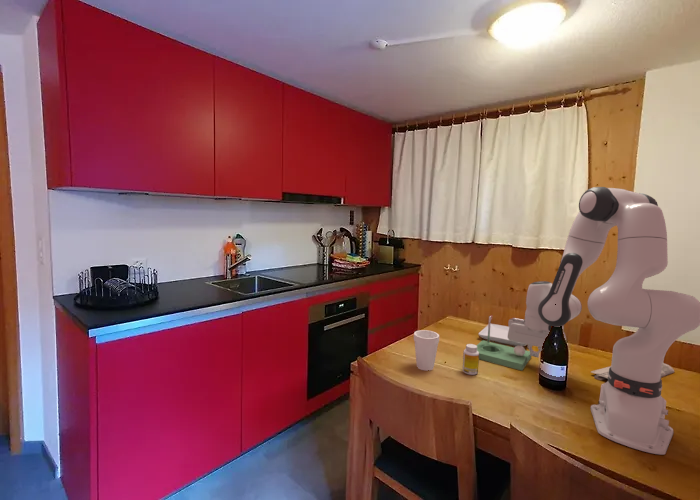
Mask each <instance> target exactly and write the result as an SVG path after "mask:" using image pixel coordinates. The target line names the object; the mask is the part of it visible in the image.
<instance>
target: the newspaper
mask: <svg viewBox="0 0 700 500" xmlns="http://www.w3.org/2000/svg"><path fill="white" fill-rule="evenodd" d="M610 367H611V365H610V366H607V367H603V368H599V369H595V370H592V371H590V373H592V374H596V375H594V376H593V378H594V379H596V380H598V381H604V380H608V372H609V368H610ZM674 373H675V370H674V367H672V366H671V365H669V364H667V363H664V362H663V365H662V371H661V378H663V377H666V376H668V375H671V374H674Z"/></svg>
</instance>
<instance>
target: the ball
mask: <svg viewBox="0 0 700 500" xmlns="http://www.w3.org/2000/svg"><path fill="white" fill-rule="evenodd" d="M513 348H514V353H515V354H516V355H517V356H523V355H524V354H525V350H526V349H525V346H520V345H518V346H514V347H513Z"/></svg>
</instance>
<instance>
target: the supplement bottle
mask: <svg viewBox="0 0 700 500" xmlns="http://www.w3.org/2000/svg"><path fill="white" fill-rule="evenodd" d="M476 345H477V344H473V343H467V344H466V346H465V349H464V350H463V352H462V353H463V354H462V355H463V356H462V372H463V373H465V374H467V375H470V376H475V375H477V374H479V363H480V359H479V352H478V351H477V346H476Z"/></svg>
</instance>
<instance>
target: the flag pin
mask: <svg viewBox="0 0 700 500" xmlns="http://www.w3.org/2000/svg"><path fill="white" fill-rule="evenodd" d="M492 320H493V314H491V315H489V316H488V324H487V325H488V340H487V339H486V341H487V343H489V342H490V340H489V339H490V324H492V323H491V321H492Z"/></svg>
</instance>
